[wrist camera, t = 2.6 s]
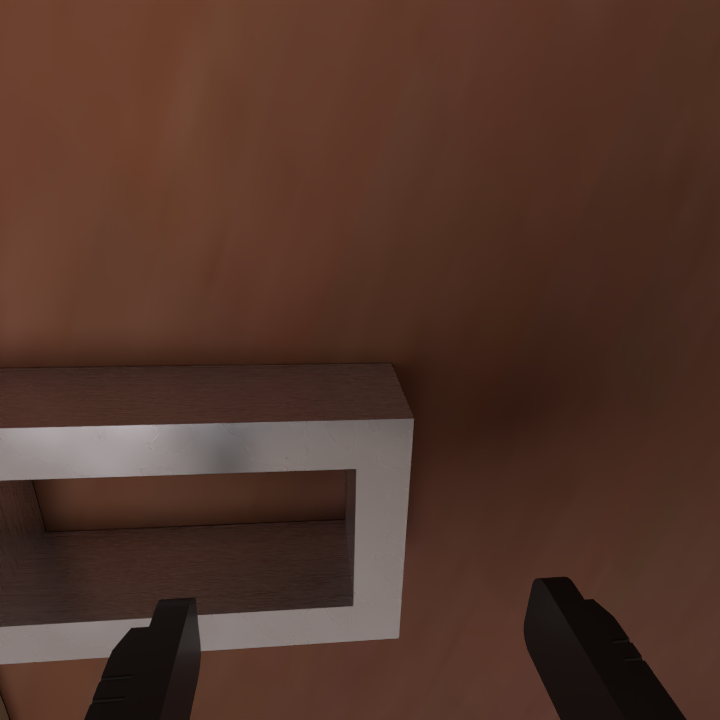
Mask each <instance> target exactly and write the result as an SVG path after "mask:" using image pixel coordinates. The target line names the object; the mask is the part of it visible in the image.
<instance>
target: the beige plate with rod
mask: <svg viewBox="0 0 720 720" xmlns="http://www.w3.org/2000/svg"><path fill="white" fill-rule="evenodd" d="M0 720H9V717H8V714H7V712H6V709H5V706H4V703H3V701H2V698H1V695H0Z"/></svg>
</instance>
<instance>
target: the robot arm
mask: <svg viewBox="0 0 720 720" xmlns="http://www.w3.org/2000/svg"><path fill="white" fill-rule="evenodd" d="M524 637H525V642H526V646H527V649H528V652H529V654H530V656H531V658H532V660H533V662H534V665H535V667H536V669H537V671H538V673H539V675H540V677H541V679H542V681H543V684H544V686H545V688H546V690H547V692H548V694H549V696H550V698H551V700H552V703H553V705H554V707H555V709H556V711H557V713H558V715H559V717H560V719H561V720H686V718H685V717H684V715H683V714H682V713H681V711H680V710H679V708H678V707H677V705H676V704H675V703H674V701H673V700H672V698H671V697H670V696H669V694H668V693H667V691H666V690H665V688H664V687H663V686H662V684H661V683H660V681H659V680H658V679H657V677H656V676H655V674H654V673H653V671H652V670H651V669H650V667H649V666H648V664H647V663H646V662H645V661H643V660H642V656H641V654H640V653H639V652H638V650H637V649H636V647H635V646H634V645H633V643H630V641H629V637H628V636H627V635H626V633H625V632H624V630H623V629H622V628H621V626H620V625H619V623H618V622H617V621H616V619H615V618H614V617H613V616H612V615H611V614H610V613H609V612H608V611H606V610H605V609H604V608H603V607H602V606H600V605H599V604H598V603H597V602H596V601H595V600H593V599H588V600H584V598H583V597H582V595H581V594H580V592H579V591H578V589H577V588H576V586H575V585H574V583H573V582H572V581H571V580H570V579H569V578H568V577H552V578H537V579H535V580H534V582H533V584H532V589H531V593H530V598H529V602H528V607H527V612H526V616H525V621H524ZM200 658H201V644H200V634H199V625H198V615H197V606H196V600H195V598H194V597H190V598H173V599H160V600H159V601H158V603H157V605H156V608H155V611H154V614H153V617H152V619H151V622H150V625H149V627H136V628H131V629H130V630H129V631H128V632H127V633H126V635H125V636H124V637H123V638H122V639H121V641H120V642H119V643H118V644H117V645H116V647H115V648H114V649H113V650H112V652H111V654H110V657H109V659H108V662H107V664H106V667H105V669H104V672H103V674H102V679H101V682H99V684H98V687H97V689H96V692H95V694H94V697H93V702H92V705H90V707H89V709H88V712H87V714H86V717H85V719H84V720H189V719H190V714H191V709H192V705H193V700H194V695H195V690H196V685H197V681H198V676H199V669H200Z"/></svg>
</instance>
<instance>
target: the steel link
mask: <svg viewBox="0 0 720 720" xmlns="http://www.w3.org/2000/svg"><path fill="white" fill-rule="evenodd" d="M413 427H414V417H413V415H412V412H411V410H410V407H409V405H408V403H407V400H406V398H405V395H404V393H403V390H402V388H401V386H400V383H399V381H398V378H397V376H396V373H395V371H394V369H393V366H392V364H391V363H375V364H296V365H217V366H138V367H59V368H0V664H12V663H27V662H43V661H58V660H73V659H88V658H103V657H110V654H111V652H112V650H113V649H114V648H115V647H116V645H117V644H118V643H119V642H120V641H121V639H122V638H123V637H124V636H125V635H126V633H127V632H128V631H129V630H130V629H131V628H136V627H149V625H150V622H151V619H152V617H153V614H154V611H155V608H156V605H157V603H158V601H159V600H160V599H173V598H190V597H194V598H195V600H196V606H197V615H198V625H199V634H200V644H201V651H210V650H225V649H240V648H255V647H271V646H286V645H301V644H316V643H331V642H347V641H362V640H377V639H392V638H399V627H400V612H401V598H402V584H403V570H404V555H405V541H406V527H407V513H408V499H409V484H410V470H411V456H412V442H413ZM338 469H346V514H345V520H329V521H306V522H282V523H259V524H235V525H212V526H188V527H165V528H141V529H118V530H94V531H71V532H47V533H46V531H45V528H44V524H43V520H42V516H41V513H40V509H39V505H38V501H37V497H36V494H35V490H34V486H33V482H32V480H33V479H64V478H94V477H125V476H155V475H186V474H216V473H247V472H277V471H308V470H338Z"/></svg>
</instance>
